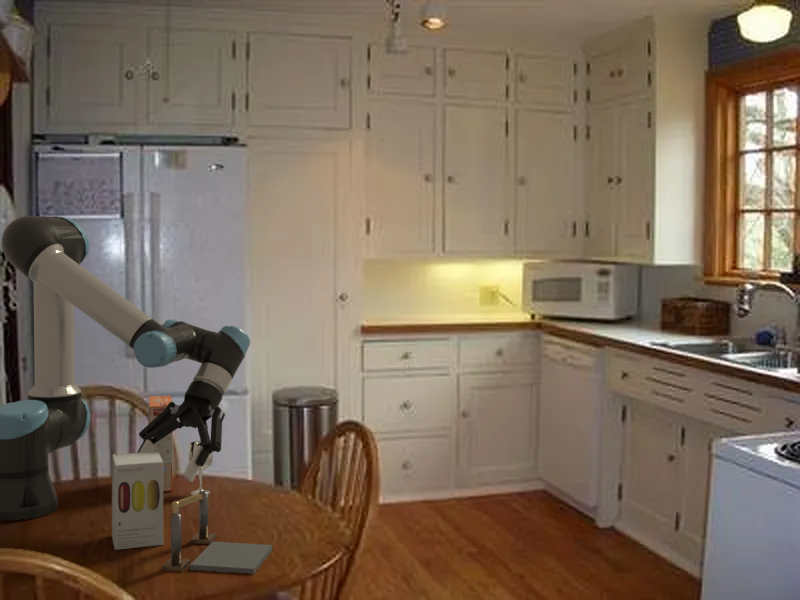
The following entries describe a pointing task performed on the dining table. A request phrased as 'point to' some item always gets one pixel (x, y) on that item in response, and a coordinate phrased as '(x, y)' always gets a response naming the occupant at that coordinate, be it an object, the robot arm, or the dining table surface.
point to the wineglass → (208, 462)
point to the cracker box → (163, 439)
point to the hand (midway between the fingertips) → (161, 474)
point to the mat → (231, 557)
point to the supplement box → (137, 500)
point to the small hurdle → (200, 538)
